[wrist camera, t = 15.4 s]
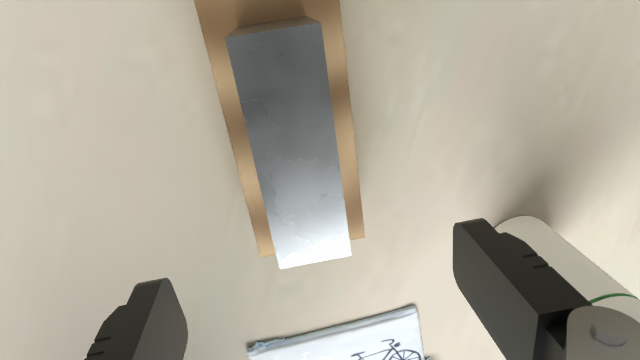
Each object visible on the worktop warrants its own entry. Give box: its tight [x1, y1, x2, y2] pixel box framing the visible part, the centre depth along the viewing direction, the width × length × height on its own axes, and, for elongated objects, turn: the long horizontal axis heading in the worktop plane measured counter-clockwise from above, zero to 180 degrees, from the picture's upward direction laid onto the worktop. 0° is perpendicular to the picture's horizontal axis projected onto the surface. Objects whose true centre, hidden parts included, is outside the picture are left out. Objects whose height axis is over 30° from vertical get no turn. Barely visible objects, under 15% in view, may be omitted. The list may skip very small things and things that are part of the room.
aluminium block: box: [225, 16, 352, 269], centre depth 22 cm, size 4×12×7 cm, turn 8°
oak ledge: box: [194, 0, 365, 257], centre depth 27 cm, size 20×8×5 cm, turn 8°
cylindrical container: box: [494, 216, 640, 323], centre depth 27 cm, size 7×7×25 cm
